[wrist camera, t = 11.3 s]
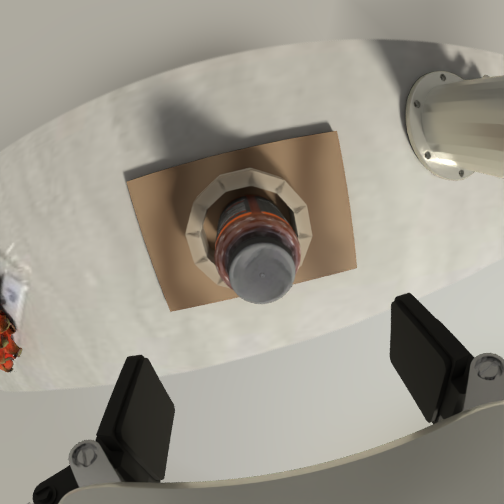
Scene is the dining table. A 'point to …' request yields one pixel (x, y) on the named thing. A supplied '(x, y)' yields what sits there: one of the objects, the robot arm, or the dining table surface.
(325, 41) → the dining table surface
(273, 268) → the supplement bottle
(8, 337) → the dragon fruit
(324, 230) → the socket board
